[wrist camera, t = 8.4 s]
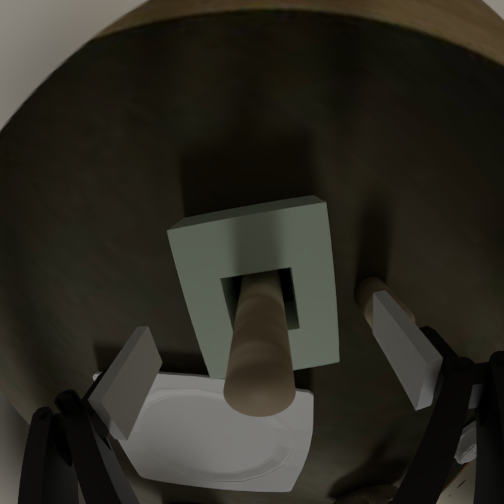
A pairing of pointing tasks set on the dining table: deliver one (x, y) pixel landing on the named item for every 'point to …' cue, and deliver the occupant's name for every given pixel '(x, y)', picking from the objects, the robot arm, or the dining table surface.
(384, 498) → the brown mug
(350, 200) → the dining table surface
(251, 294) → the long dowel
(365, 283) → the short dowel
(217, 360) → the hole block
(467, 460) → the mechanical component
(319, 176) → the dining table surface
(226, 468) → the plate
